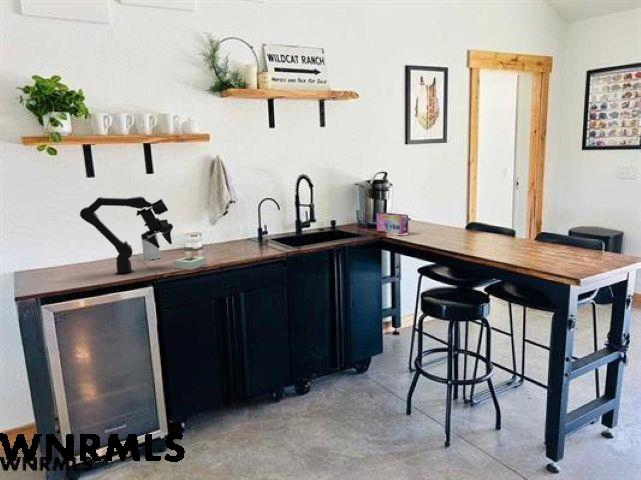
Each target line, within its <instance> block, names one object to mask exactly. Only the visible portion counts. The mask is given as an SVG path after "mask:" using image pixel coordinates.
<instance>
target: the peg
mask: <svg viewBox="0 0 641 480" xmlns="http://www.w3.org/2000/svg"><path fill="white" fill-rule="evenodd" d="M184 255H185V256H184V257H185V258H186V261H192V260H194V257H195V256H194V255H195V254H194V247H193V246H188V247H185V248H184Z"/></svg>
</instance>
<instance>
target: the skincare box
mask: <svg viewBox="0 0 641 480" xmlns="http://www.w3.org/2000/svg"><path fill="white" fill-rule="evenodd" d="M153 235H154V234H153ZM140 238H141V237H140ZM155 238H156V240H157V242H158V243H159V237H158V233H156V237H155ZM145 240H146V239H144V240H143V239H142V238H141V245H142V254H143V260H144V261H146V260H149V261H153V260H152V259H155V260H159V259H158V258H160V259H161V255H160V254H161V253H160V248H157V247H156V246H154V245H153V244H151V243H149V242H148V241H145Z"/></svg>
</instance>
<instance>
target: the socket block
mask: <svg viewBox="0 0 641 480" xmlns="http://www.w3.org/2000/svg"><path fill="white" fill-rule="evenodd" d="M207 261H208V260H207V257H206V256H194V260H192V261H186V258H185V256H184V257H181V258H178V259H176V260H175V259H174V260H173V261H172V262H173V263H172V264H173V269H175V268H181V269H180V270H187V269H188V270H190V271H193V270H196V269H199V268H201V267H200V266H202V267H204V266H206V265H205V264H208V263H207ZM203 265H204V266H203ZM198 267H199V268H198Z"/></svg>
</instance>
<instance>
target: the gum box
mask: <svg viewBox="0 0 641 480" xmlns="http://www.w3.org/2000/svg"><path fill="white" fill-rule="evenodd" d="M377 230H378V231H385V232H391V233H397V234H405V233H408V234H409V215H408V214H405V213H404V214H403V213H402V214H401V213H391V212H380V213H376V231H377Z"/></svg>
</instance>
